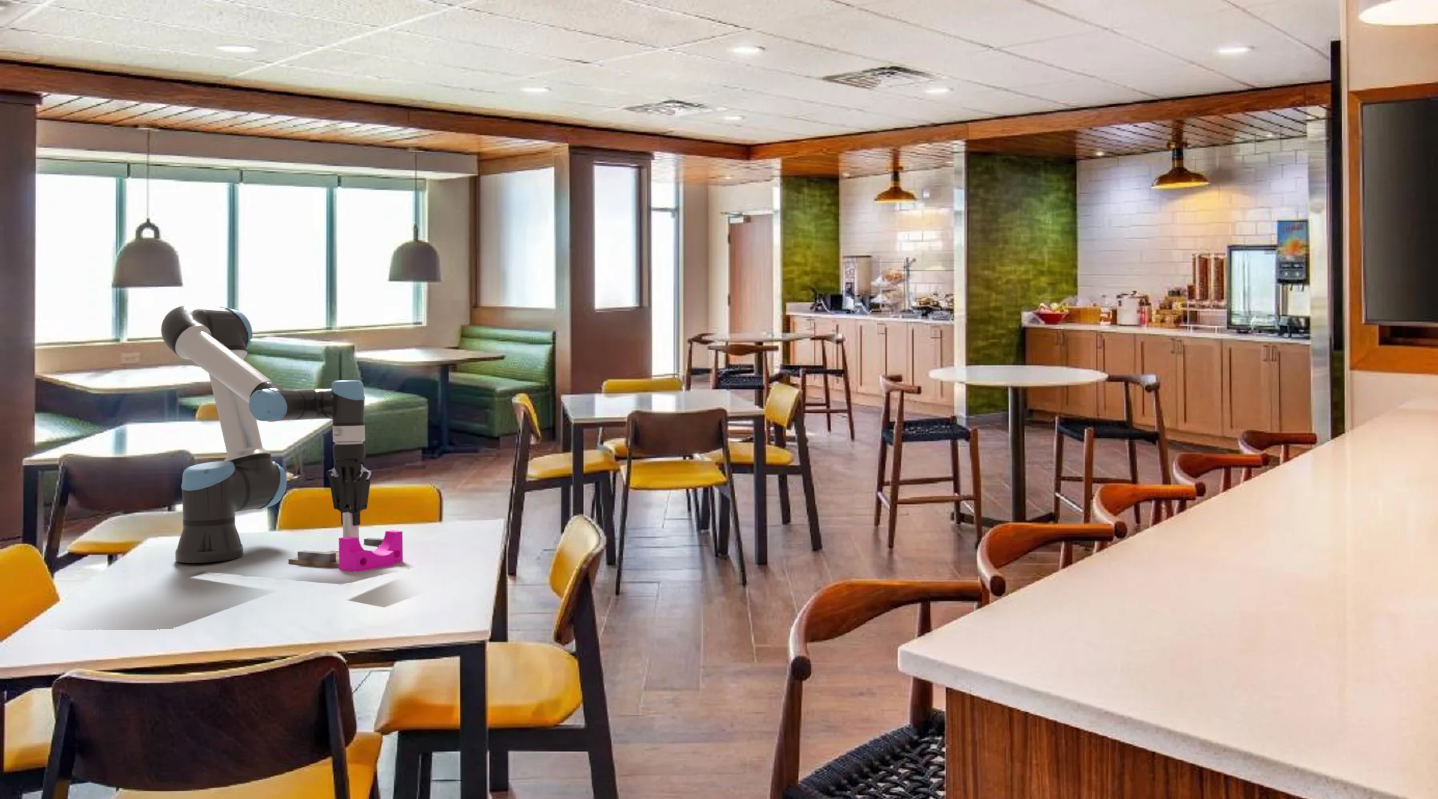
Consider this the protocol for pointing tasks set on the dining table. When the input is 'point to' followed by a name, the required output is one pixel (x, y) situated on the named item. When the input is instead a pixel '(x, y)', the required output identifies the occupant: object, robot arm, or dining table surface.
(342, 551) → the toy block
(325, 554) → the wooden serving tray
